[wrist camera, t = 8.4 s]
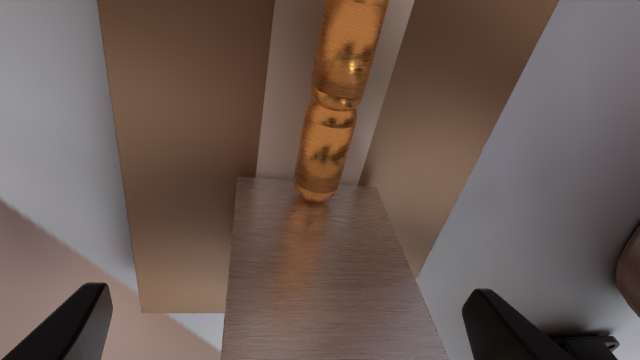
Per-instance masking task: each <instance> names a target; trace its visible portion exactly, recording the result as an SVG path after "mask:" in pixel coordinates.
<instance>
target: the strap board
mask: <svg viewBox="0 0 640 360" xmlns="http://www.w3.org/2000/svg"><path fill="white" fill-rule="evenodd" d="M558 1H559V0H389V3H388V7H387V11H386V15H385V18H384V22H383V26H382V29H381V33H380V37H379V40H378V44H377V48H376V51H375V55H374V59H373V62H372V66H371V70H370V73H369V77H368V81H367V85H366V88H365V92H364V95H363V98H362V100H361V102H360V103H359V104H358V106H357V107H356V110H357V120H356V125H355V129H354V132H353V136H352V140H351V143H350V147H349V151H348V154H347V158H346V162H345V165H344V169H343V173H342V176H341V180H340V184H343V185H356V186H369V187H377V190H378V192H379V195H380V197H381V199H382V202H383V204H384V206H385V209H386V211H387V214H388V216H389V218H390V221H391V223H392V225H393V228H394V230H395V233H396V235H397V237H398V240H399V242H400V244H401V247H402V249H403V252H404V254H405V256H406V259H407V261H408V263H409V266H410V268H411V271H412V273H413V275H414V278H415V280H416V278H417V276H418V274H419V272H420V270H421V268H422V266H423V265H424V263H425V261H426V259H427V257H428V255H429V253H430V251H431V249H432V247H433V245H434V243H435V241H436V239H437V237H438V235H439V233H440V231H441V229H442V227H443V225H444V224H445V222H446V220H447V218H448V216H449V214H450V212H451V210H452V208H453V206H454V204H455V202H456V200H457V198H458V196H459V194H460V192H461V190H462V188H463V186H464V185H465V183H466V181H467V179H468V177H469V175H470V173H471V171H472V169H473V167H474V165H475V163H476V161H477V159H478V157H479V155H480V153H481V151H482V149H483V147H484V146H485V144H486V142H487V140H488V138H489V136H490V134H491V132H492V130H493V128H494V126H495V124H496V122H497V120H498V118H499V116H500V114H501V112H502V110H503V108H504V106H505V105H506V103H507V101H508V99H509V97H510V95H511V93H512V91H513V89H514V87H515V85H516V83H517V81H518V79H519V77H520V75H521V73H522V71H523V69H524V67H525V66H526V64H527V62H528V60H529V58H530V56H531V54H532V52H533V50H534V48H535V46H536V44H537V42H538V40H539V38H540V36H541V34H542V32H543V30H544V28H545V27H546V25H547V23H548V21H549V19H550V17H551V15H552V13H553V11H554V9H555V7H556V5H557V3H558ZM97 4H98V11H99V18H100V25H101V32H102V39H103V46H104V53H105V60H106V67H107V74H108V81H109V88H110V95H111V102H112V109H113V116H114V123H115V130H116V137H117V144H118V151H119V158H120V165H121V172H122V179H123V186H124V193H125V200H126V207H127V214H128V221H129V228H130V235H131V242H132V249H133V256H134V262H135V269H136V276H137V283H138V290H139V297H140V303H141V311H142V313H225V307H226V296H227V285H228V274H229V263H230V252H231V241H232V230H233V219H234V208H235V197H236V186H237V176H241V177H254V178H267V179H279V180H292V181H293V179H294V171H295V165H296V160H297V154H298V149H299V143H300V138H301V132H302V127H303V121H304V115H305V110H306V107H307V105H308V103H309V101H310V99H311V98H312V95H311V90H310V83H311V77H312V71H313V66H314V60H315V55H316V49H317V44H318V38H319V33H320V27H321V22H322V16H323V11H324V5H325V0H97Z"/></svg>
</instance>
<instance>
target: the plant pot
mask: <svg viewBox="0 0 640 360" xmlns="http://www.w3.org/2000/svg"><path fill="white" fill-rule="evenodd" d="M616 285H617V288H618V289H619V291H620V292H621V294H622V295H623V297H624V299H625V300H626V302H627V303H628V305H629V306H630V307H631V308H632V310H633V311H634V312H635V313H636V314H637V315H638V316H639V317H640V225H639V227H638V228H637V230H636V231H635V232H634V234H633V235H632V237H631V238H630V240H629V241H628V243H627V244H626V246H625V248H624V250H623V252H622V253H621V256H620V258H619V260H618V264H617V268H616Z"/></svg>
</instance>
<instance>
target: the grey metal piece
mask: <svg viewBox="0 0 640 360" xmlns="http://www.w3.org/2000/svg"><path fill="white" fill-rule="evenodd" d="M388 3H389V0H325V5H324V11H323V16H322V22H321V27H320V33H319V38H318V44H317V49H316V55H315V60H314V66H313V71H312V77H311V83H310V90H311V95H312V98H311V99H310V101H309V103H308V105H307V107H306V110H305V115H304V121H303V127H302V132H301V138H300V143H299V149H298V154H297V160H296V165H295V171H294V179H293V181H292V180H279V179H267V178H254V177H241V176H237V186H236V197H235V208H234V219H233V230H232V241H231V252H230V263H229V274H228V285H227V296H226V307H225V318H224V330H223V341H222V352H221V360H449V358H448V356H447V354H446V351H445V349H444V346H443V344H442V342H441V339H440V337H439V335H438V332H437V330H436V327H435V325H434V323H433V320H432V318H431V316H430V313H429V311H428V308H427V306H426V304H425V301H424V299H423V297H422V294H421V292H420V289H419V287H418V285H417V282H416V280H415V278H414V275H413V273H412V271H411V268H410V266H409V263H408V261H407V259H406V256H405V254H404V252H403V249H402V247H401V244H400V242H399V240H398V237H397V235H396V233H395V230H394V228H393V225H392V223H391V221H390V218H389V216H388V214H387V211H386V209H385V206H384V204H383V202H382V199H381V197H380V195H379V192H378V190H377V187H369V186H356V185H343V184H340V180H341V176H342V173H343V169H344V165H345V162H346V158H347V154H348V151H349V147H350V143H351V140H352V136H353V132H354V129H355V125H356V120H357V110H356V107H357V106H358V104H359V103H360V102H361V100H362V98H363V95H364V92H365V88H366V85H367V81H368V77H369V73H370V70H371V66H372V62H373V59H374V55H375V51H376V48H377V44H378V40H379V37H380V33H381V29H382V26H383V22H384V18H385V15H386V11H387V7H388Z"/></svg>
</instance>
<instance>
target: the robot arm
mask: <svg viewBox="0 0 640 360" xmlns="http://www.w3.org/2000/svg"><path fill="white" fill-rule="evenodd" d="M112 310H113V306H112V300H111V297H110V291H109V287H108V285H107V284H106V283H92V282H90V283H86V284H84V285H82V286H81V287H80V288H79V289H78V290H77V291H76V292H75V293H74V294H72V295H71V296H70V297H69V298H68V299H67V300H66V301H65V302H64V303H63V304H62V305H61V306H59V307H58V308H57V309H56V310H55V311H54V312H53V313H52V314H51V315H50V316H49V317H48V318H46V319H45V320H44V321H43V322H42V323H41V324H40V325H39V326H38V327H37V328H35V329H34V330H33V331H32V332H31V333H30V334H29V335H28V336H27V337H26V338H25V339H24V340H22V341H21V342H20V343H19V344H18V345H17V346H16V347H15V348H14V349H13V350H11V351H10V352H9V353H8V354H7V355H6V356H5V357H4V358H3V359H2V360H101V356H102V352H103V348H104V344H105V340H106V337H107V333H108V329H109V325H110V321H111V317H112ZM462 316H463V320H464V324H465V327H466V331H467V335H468V339H469V342H470V346H471V350H472V353H473V357H474V360H617V358H616V357H615V356H614V355H613V353H612V351H614V350H615V349H616V348H617V347H618V346H619V345H620V343H619V342H618V341H617V340H616V339H615V337H614V336H593V337H548V336H546V335H545V334H544V333H543V332H542V331H540V330H539V329H538V328H537V327H536V326H534V325H533V324H532V323H531V322H530V321H528V320H527V319H526V318H525V317H524V316H523V315H521V314H520V313H519V312H518V311H517V310H515V309H514V308H513V307H512V306H511V305H509V304H508V303H507V302H506V301H505V300H503V299H502V298H501V297H500V296H499V295H498V294H496V293H495V292H494V291H492V290H491V289H475V290H474V291H473V292H472V293H471V295H470V296H469V298H468V299H467V301H466V302H465V304H464V305H463V308H462Z"/></svg>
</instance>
